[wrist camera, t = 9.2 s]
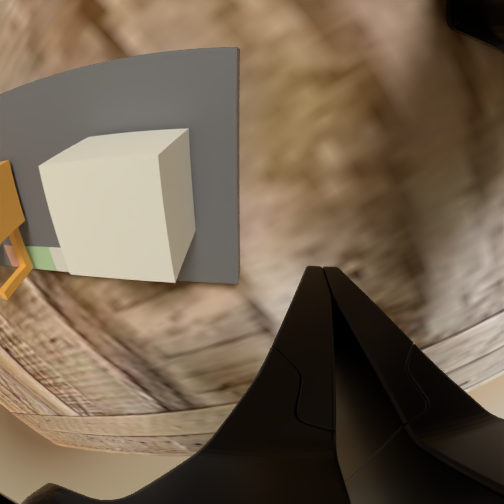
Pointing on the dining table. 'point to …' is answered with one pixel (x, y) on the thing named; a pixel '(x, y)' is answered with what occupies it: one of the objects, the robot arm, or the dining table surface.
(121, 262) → the block
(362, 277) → the dining table surface
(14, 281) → the needle rider
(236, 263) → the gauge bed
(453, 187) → the dining table surface
